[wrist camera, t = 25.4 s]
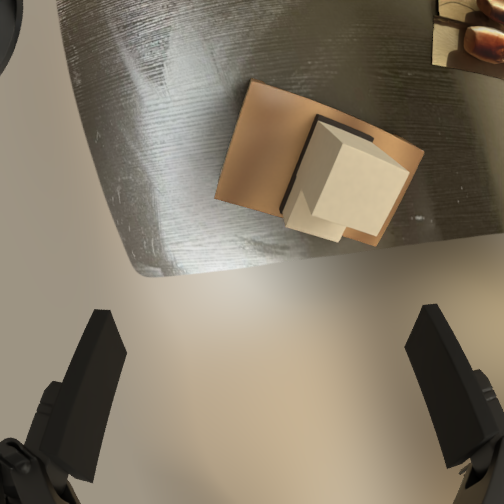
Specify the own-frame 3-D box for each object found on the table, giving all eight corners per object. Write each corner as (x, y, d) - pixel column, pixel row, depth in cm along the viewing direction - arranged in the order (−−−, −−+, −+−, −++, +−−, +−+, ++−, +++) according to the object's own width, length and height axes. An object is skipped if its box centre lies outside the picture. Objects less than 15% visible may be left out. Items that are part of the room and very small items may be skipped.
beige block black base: (316, 113, 29) (344, 136, 21) (370, 135, 30) (413, 167, 22) (278, 208, 35) (288, 262, 26) (330, 224, 36) (353, 279, 28)
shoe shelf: (218, 178, 39) (214, 198, 34) (251, 77, 32) (251, 80, 27) (361, 223, 43) (376, 246, 38) (402, 138, 36) (424, 151, 31)
